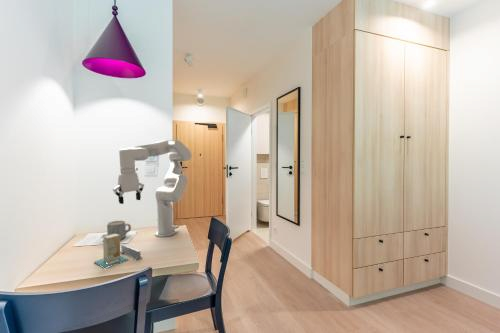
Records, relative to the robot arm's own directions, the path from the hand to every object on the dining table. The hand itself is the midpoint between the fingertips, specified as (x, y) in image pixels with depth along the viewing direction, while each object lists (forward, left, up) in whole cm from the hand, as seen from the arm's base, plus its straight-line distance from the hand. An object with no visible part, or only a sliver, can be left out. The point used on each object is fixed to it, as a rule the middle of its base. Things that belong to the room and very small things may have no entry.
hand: (130, 201), depth 134 cm
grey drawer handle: (+4, +7, -27) cm, 28 cm away
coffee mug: (-7, -25, -27) cm, 37 cm away
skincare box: (+13, +6, -27) cm, 30 cm away
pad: (+14, +6, -27) cm, 31 cm away
